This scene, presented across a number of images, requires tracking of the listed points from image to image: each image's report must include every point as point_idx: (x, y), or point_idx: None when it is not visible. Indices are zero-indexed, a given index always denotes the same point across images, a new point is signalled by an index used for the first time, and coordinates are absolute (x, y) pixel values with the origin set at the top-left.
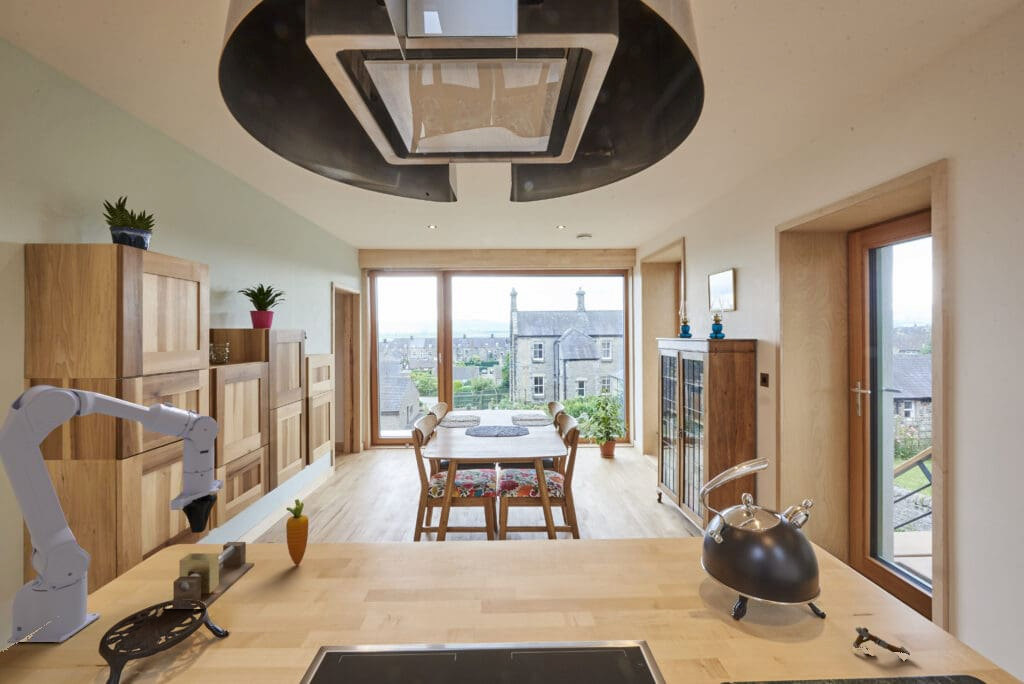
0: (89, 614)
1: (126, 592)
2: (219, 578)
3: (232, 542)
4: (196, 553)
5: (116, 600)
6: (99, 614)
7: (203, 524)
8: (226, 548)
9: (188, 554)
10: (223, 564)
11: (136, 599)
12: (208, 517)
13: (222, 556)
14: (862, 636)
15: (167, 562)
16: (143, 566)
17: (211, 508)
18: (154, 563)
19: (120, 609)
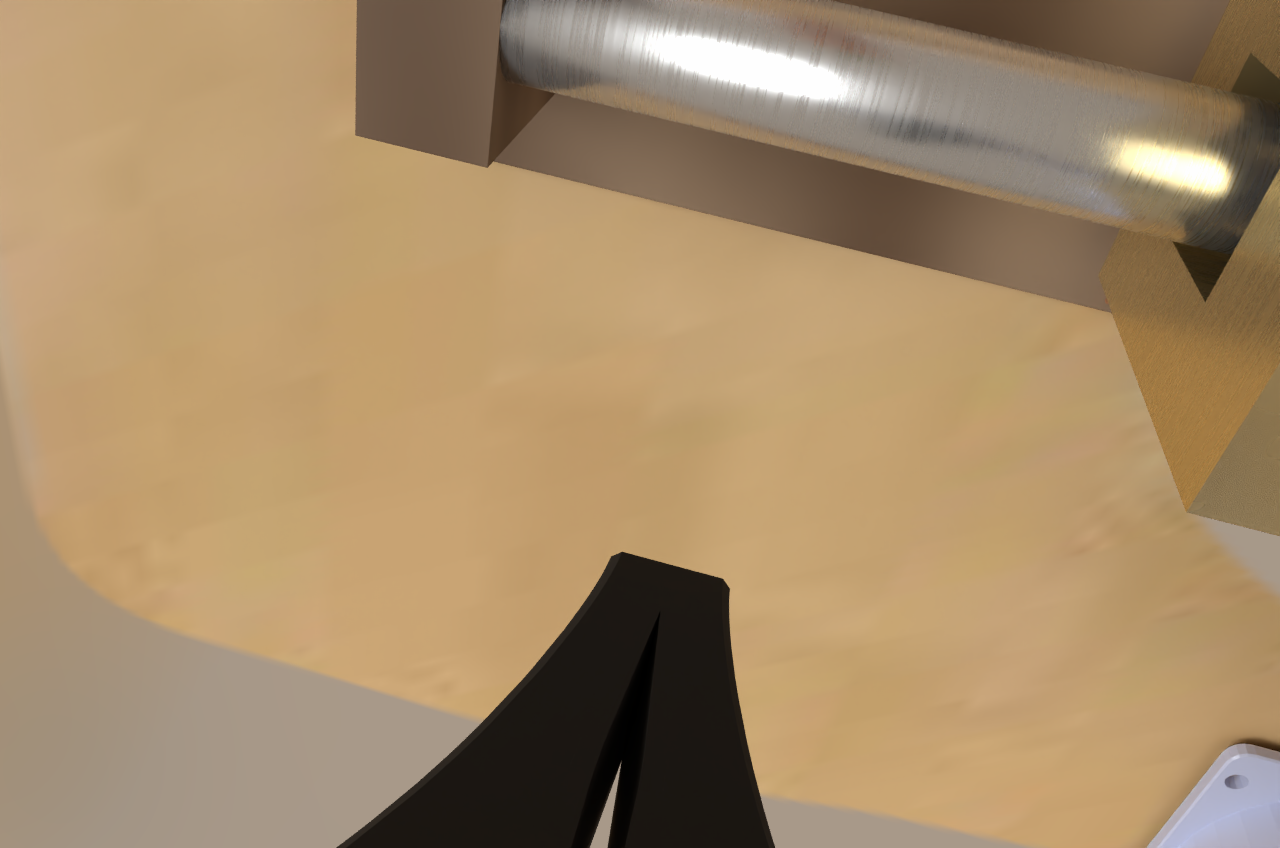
0: (1208, 803)
1: (856, 694)
2: (887, 8)
3: (377, 61)
4: (1244, 419)
5: (975, 715)
6: (1248, 757)
7: (693, 661)
8: (505, 102)
9: (1229, 517)
10: None
11: (1018, 610)
12: (521, 685)
13: (865, 49)
14: None
15: (374, 588)
16: (433, 704)
17: (403, 823)
18: (388, 658)
19: (1161, 659)
